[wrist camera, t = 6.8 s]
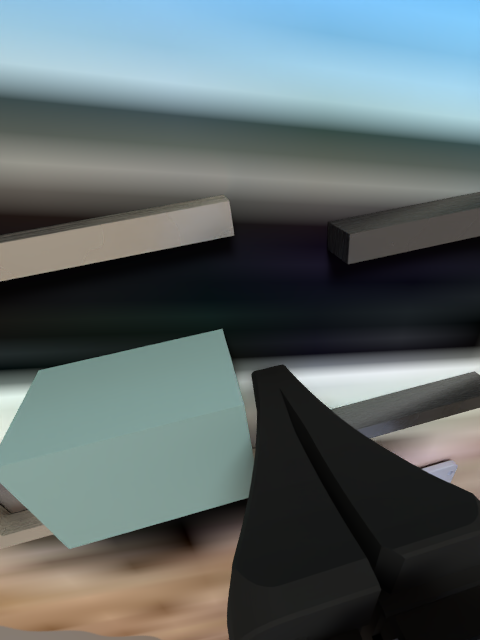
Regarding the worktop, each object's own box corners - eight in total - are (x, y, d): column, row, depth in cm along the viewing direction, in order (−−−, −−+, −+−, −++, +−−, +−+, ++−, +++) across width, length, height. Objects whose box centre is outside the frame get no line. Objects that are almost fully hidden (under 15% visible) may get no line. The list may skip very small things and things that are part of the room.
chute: (463, 402, 18) (484, 421, 17) (1, 529, 16) (-13, 563, 14) (570, 131, 11) (623, 131, 10) (-294, 288, 8) (-378, 318, 7)
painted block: (238, 412, 15) (260, 494, 12) (91, 450, 14) (69, 549, 11) (222, 329, 12) (244, 404, 9) (38, 370, 11) (-13, 470, 8)
